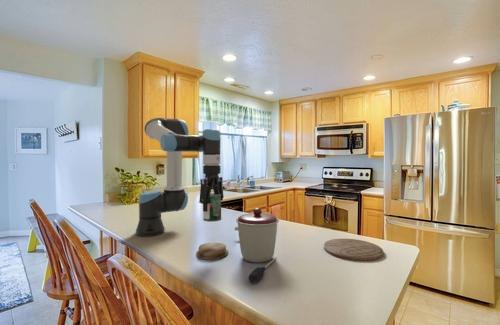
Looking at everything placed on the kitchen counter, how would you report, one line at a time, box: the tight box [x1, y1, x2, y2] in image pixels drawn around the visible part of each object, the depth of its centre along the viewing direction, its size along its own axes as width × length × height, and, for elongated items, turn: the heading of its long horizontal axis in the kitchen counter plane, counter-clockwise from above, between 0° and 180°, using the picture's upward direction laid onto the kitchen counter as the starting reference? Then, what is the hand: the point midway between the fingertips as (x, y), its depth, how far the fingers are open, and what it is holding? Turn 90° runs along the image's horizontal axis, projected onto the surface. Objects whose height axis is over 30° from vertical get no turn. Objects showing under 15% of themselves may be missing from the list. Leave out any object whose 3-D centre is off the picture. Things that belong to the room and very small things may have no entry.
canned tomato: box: [202, 192, 222, 223], centre depth 116 cm, size 8×8×11 cm
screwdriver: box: [248, 257, 277, 283], centre depth 100 cm, size 26×4×4 cm, turn 156°
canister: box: [235, 207, 280, 264], centre depth 111 cm, size 18×18×21 cm
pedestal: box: [195, 242, 229, 261], centre depth 117 cm, size 14×14×3 cm
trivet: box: [323, 238, 384, 262], centre depth 120 cm, size 25×25×2 cm
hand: (212, 216), depth 117 cm, fingers closed on canned tomato, 8 cm apart
